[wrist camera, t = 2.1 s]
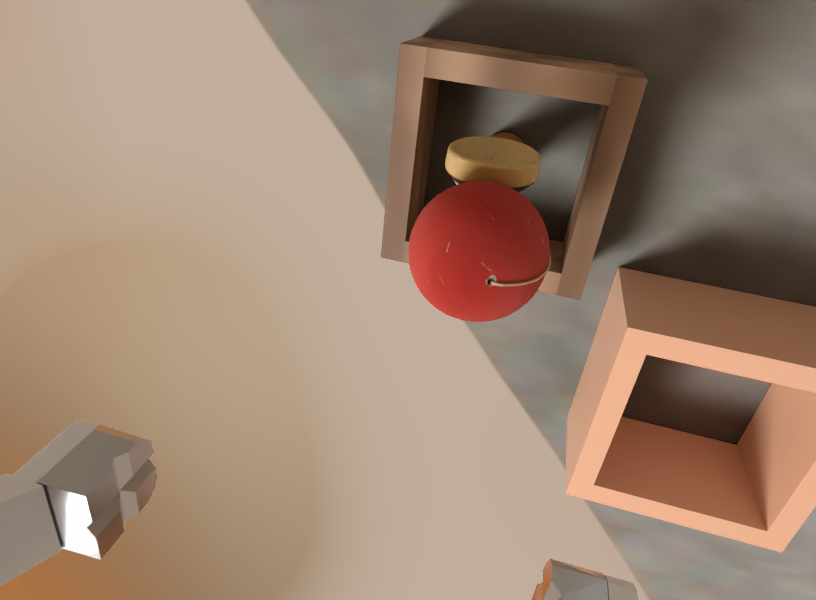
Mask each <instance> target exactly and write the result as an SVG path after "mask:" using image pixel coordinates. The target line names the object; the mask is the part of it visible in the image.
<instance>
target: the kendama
mask: <svg viewBox="0 0 816 600" xmlns="http://www.w3.org/2000/svg"><path fill="white" fill-rule="evenodd" d="M540 164H541V157H540V154H539V153H538V152H537V151H536V150H534V149H533V148H531V147H530V146H528V145H526V144H524V143H523V141H522V140H521V139H520V138H519V137H517V136H516V135H514V134H511V133H506V132H504V133H499V134H495V135H493V136H491V137H486V136H479V137H465V138H461V139H458V140H455V141H454V142H452V143H451V144H450V145H449V147H448V151H447V156H446V161H445V167H446V170H447V172H448V173H449V175H451V177H452V178H453V180H454V181H455V183H456V185H455V186H453V187H450V188H448V189H446V190H445V191H443V192H441V193H440V194H438V195H437V196H436V197H435V198H433V199H432V200H431V201H430V202H429V203H428V204H427V205H426V206H425V208H424V209H423V210H422V211H421V213H420V215H419V216H418V218H417V220H416V222H415V224H414V227H413V229H412V232H411V235H410V240H409V247H408V253H409V264H410V270H411V272H412V275H413V278H414V281H415V283H416V285H417V287H418V288H419V290H420V292H421V293H422V294H423V296H424V297H425V298H426V299H427V300H428V301H429V302H430V303H431V304H432V305H433V306H434V307H436V308H437V309H439V310H440V311H442V312H443V313H445V314H447V315H450V316H452V317H455V318H458V319H461V320H465V321H473V322H484V321H491V320H496V319H500V318H503V317H506V316H508V315H510V314H512V313H514V312H515V311H517V310H518V309H520V308H521V307H522V306H524V305H525V304H526V303H527V302H528V301H529V300H530V299H531V298H532V297H533V296H534V294H535V293H536V292H537V290H538V289H539V287H540V285H541V284H542V282H543V280H544V277H545V275H546V273H547V272H548V270H549V268H550V265H551V255H550V246H549V237H548V233H547V229H546V226H545V224H544V222H543V220H542V218H541V216H540V214H539V212H538V211H537V209H536V208H535V207H534V206H533V204H532V203H531V202H530V201H529V200H528V199H526V198H525V197H524V196H523V195H521V194H520V193H521V192H522V191H523V190H525V189H526V188H527V187H529V186H530V185H531V184H534V182H535V181H536V180H537V179H538V177H539V172H540Z"/></svg>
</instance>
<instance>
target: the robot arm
mask: <svg viewBox="0 0 816 600" xmlns="http://www.w3.org/2000/svg"><path fill="white" fill-rule="evenodd" d="M152 453H153V447H152V443H151V441H150V440H147V439H144V438H141V437H138V436H135V435H132V434H129V433H125V432H122V431H119V430H116V429H113V428H110V427H107V426H104V425H101V424H98V423H94V422H91V421H88V420H84V419H81V420H78V421H76V422H73V423H72V424H71V425H70V426H68V427H67V428H66V429H65V430H64V431H63V432H61V433H60V434H59V435H58V436H57V437H56V438H55V439H53V440H52V441H51V442H50V443H49V444H48V445H46V446H45V447H44V448H43V449H42V450H41V451H40V452H38V453H37V454H36V455H35V456H34V457H33V458H32V459H30V460H29V461H28V462H27V463H26V464H25V465H24V466H22V467H21V468H20V469H19V470H18V471H17V472H16V473H14V474H13V475H9V474H3V475H0V586H2V585H3V584H5V583H7V582H9V581H10V580H12V579H14V578H16V577H17V576H19V575H20V574H22V573H24V572H26V571H28V570H29V569H31V568H33V567H34V566H36V565H38V564H40V563H41V562H43V561H45V560H46V559H48V558H50V557H52V556H53V555H55V554H57V553H59V552H60V551H61V550H62V549H61V548H64V549H67V550H71V551H74V552H77V553H81V554H84V555H87V556H90V557H94V558H97V559H102V558H103V557H104V555H105V554H106V553H107V552H108V551H109V550H110V548H111V547H112V546H113V545H114V543H115V542H116V541H117V540H118V539H119V537H120V536H121V535H122V534H123V532H124V528H125V527H124V525H125V520H126V519H128V518H130V517H132V516H134V515H136V514H138V513H140V511H141V510H142V509H143V508H144V506H145V505H146V504H147V503H148V501H149V499H150V497H151V495H152V493H153V490H154V488H155V485H156V479H157V474H156V468H155V466H154V465H153V464H152V463H151V461H150V460H149V459H148V458H149V457H150V456H151V455H152ZM532 600H638V597H637V590H636V588H635V586H634V584H633V583H631V582H627V581H624V580H620V579H617V578H613V577H610V576H606V575H603V574H602V573H599V572H595V571H592V570H588V569H584V568H581V567H577V566H574V565H571V564H567V563H564V562H560V561H556V560H553V559H549V560H548V561H547V563H546V565H545V567H544V570H543V582H542V583H540V584H538V585H537V586H536V589H535V591H534V594H533V597H532Z"/></svg>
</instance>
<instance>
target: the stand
mask: <svg viewBox="0 0 816 600" xmlns="http://www.w3.org/2000/svg"><path fill="white" fill-rule="evenodd" d="M646 355H650V356H654V357H659V358H663V359H668V360H672V361H676V362H681V363H685V364H690V365H694V366H699V367H703V368H708V369H712V370H716V371H721V372H725V373H730V374H734V375H739V376H743V377H747V378H752V379H756V380H761V381H765V382H770V383H772V384H771V385H770V387H769V389H768V391H767V393H766V394H765V396H764V398H763V400H762V401H761V403H760V405H759V407H758V408H757V410H756V412H755V414H754V415H753V417H752V419H751V421H750V423H749V424H748V426H747V428H746V430H745V431H744V433H743V435H742V437H741V438H740V440H739V442H738V444H737V445H735V444H731V443H727V442H723V441H719V440H715V439H711V438H707V437H703V436H698V435H694V434H690V433H686V432H682V431H678V430H674V429H670V428H666V427H662V426H658V425H654V424H650V423H645V422H641V421H637V420H633V419H629V418H625V417H621V416H622V414H623V411H624V409H625V406H626V404H627V401H628V399H629V397H630V394H631V392H632V389H633V387H634V384H635V382H636V379H637V377H638V374H639V372H640V369H641V367H642V364H643V362H644V359H645V357H646ZM566 494H568V495H572V496H576V497H579V498H583V499H587V500H590V501H594V502H598V503H601V504H605V505H609V506H612V507H616V508H620V509H623V510H627V511H631V512H634V513H638V514H642V515H646V516H649V517H653V518H657V519H660V520H664V521H668V522H671V523H675V524H679V525H682V526H686V527H690V528H693V529H697V530H701V531H705V532H708V533H712V534H716V535H719V536H723V537H727V538H730V539H734V540H738V541H741V542H745V543H749V544H752V545H756V546H760V547H763V548H767V549H771V550H775V551H778V552H783V550H784V549H785V547H786V546H787V545H788V543H789V542H790V541H791V539H792V538H793V536H794V535H795V534H796V532H797V531H798V530H799V528H800V527H801V525H802V524H803V523H804V521H805V520H806V518H807V517H808V516H809V514H810V513H811V512H812V510H813V509H814V507H815V506H816V307H814V306H809V305H804V304H799V303H794V302H789V301H784V300H779V299H774V298H769V297H765V296H760V295H755V294H750V293H745V292H740V291H735V290H730V289H725V288H720V287H715V286H710V285H705V284H700V283H695V282H690V281H685V280H680V279H676V278H671V277H666V276H661V275H656V274H651V273H646V272H641V271H636V270H631V269H626V268H621V267H618V269H617V272H616V275H615V278H614V281H613V284H612V287H611V290H610V293H609V296H608V299H607V302H606V305H605V307H604V310H603V313H602V316H601V319H600V322H599V325H598V328H597V331H596V334H595V337H594V340H593V343H592V346H591V349H590V352H589V355H588V358H587V361H586V364H585V367H584V370H583V373H582V376H581V378H580V381H579V384H578V387H577V390H576V393H575V396H574V399H573V402H572V405H571V408H570V411H569V414H568V417H567V451H566Z"/></svg>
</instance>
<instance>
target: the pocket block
mask: <svg viewBox="0 0 816 600" xmlns="http://www.w3.org/2000/svg"><path fill="white" fill-rule="evenodd" d="M440 80H447V81H453V82H459V83H466V84H472V85H478V86H485V87H491V88H498V89H504V90H510V91H517V92H523V93H530V94H536V95H542V96H549V97H555V98H561V99H568V100H574V101H581V102H587V103H593V104H600V109H599V113H598V116H597V120H596V124H595V127H594V131H593V135H592V138H591V142H590V145H589V149H588V153H587V156H586V160H585V164H584V167H583V171H582V175H581V178H580V182H579V186H578V189H577V193H576V197H575V200H574V204H573V208H572V211H571V215H570V219H569V222H568V226H567V230H566V233H565V237H564V241H563V242H560V241H555V240H550V239H549V246H550V255H551V265H550V268H549V270H548V272H547V273H546V275H545V277H544V280H543V282H542V284H541V285H540V287H539V289H538V290H537V291H541V292H545V293H550V294H555V295H559V296H564V297H569V298H573V299H578V300H580V299H581V295H582V292H583V289H584V286H585V282H586V279H587V276H588V273H589V269H590V266H591V263H592V260H593V256H594V253H595V250H596V247H597V244H598V240H599V237H600V234H601V231H602V227H603V224H604V221H605V218H606V214H607V211H608V208H609V205H610V201H611V198H612V195H613V192H614V188H615V185H616V182H617V179H618V176H619V172H620V169H621V166H622V163H623V159H624V156H625V153H626V150H627V146H628V143H629V140H630V137H631V133H632V130H633V127H634V124H635V120H636V117H637V114H638V111H639V108H640V104H641V101H642V98H643V95H644V91H645V88H646V85H647V82H648V79H647V78H646V77H645V75H644V74H643V73H642V72H641V70H640V69H639V68H638V67H632V66H625V65H618V64H611V63H604V62H597V61H590V60H583V59H576V58H569V57H562V56H555V55H548V54H542V53H535V52H528V51H521V50H514V49H507V48H500V47H493V46H486V45H479V44H472V43H465V42H458V41H451V40H445V39H438V38H431V37H424V36H420V37H417V38H414V39H412V40H409V41H406V42H403V43H400V50H399V61H398V72H397V83H396V94H395V106H394V117H393V128H392V139H391V150H390V162H389V173H388V184H387V195H386V206H385V217H384V229H383V240H382V251H381V257H382V258H386V259H391V260H396V261H401V262H405V263H409V253H408V247H409V240H410V235H411V232H412V229H413V227H414V224H415V222H416V220H417V218H418V216H419V215H420V213H421V211H422V210H423V209H424V201H425V193H426V185H427V177H428V169H429V162H430V154H431V146H432V138H433V130H434V122H435V114H436V107H437V99H438V91H439V83H440Z"/></svg>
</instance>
